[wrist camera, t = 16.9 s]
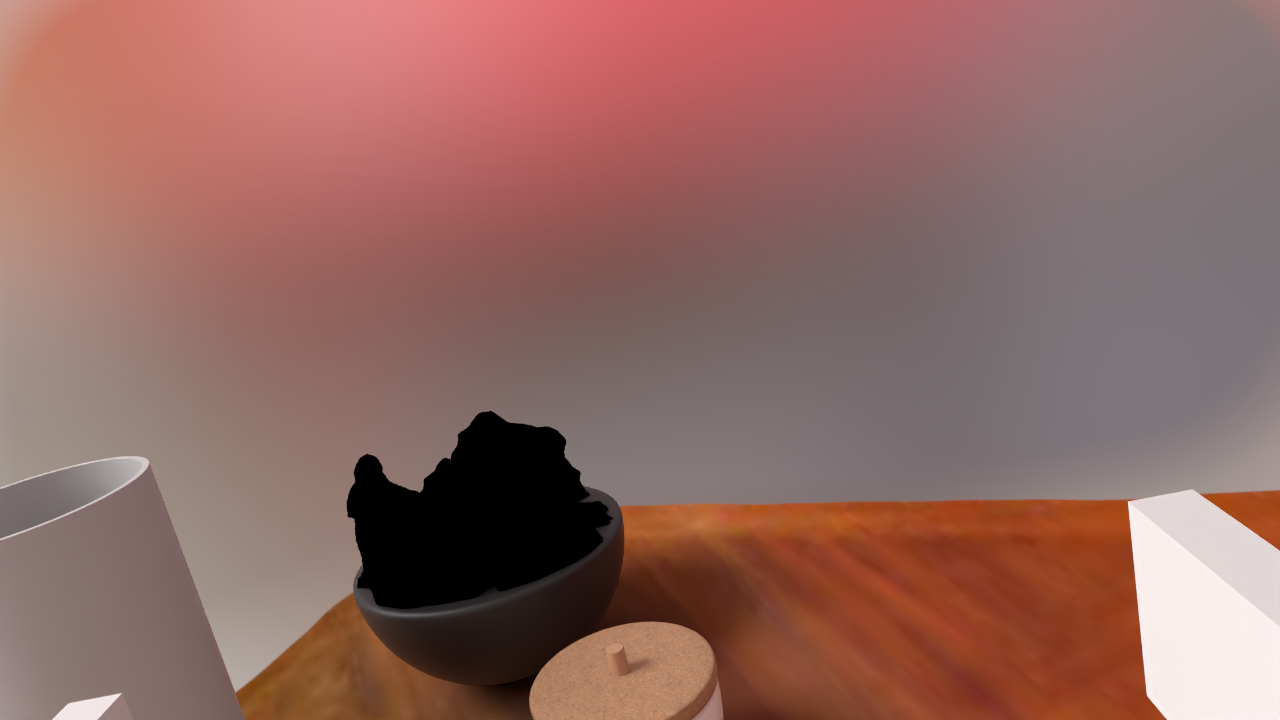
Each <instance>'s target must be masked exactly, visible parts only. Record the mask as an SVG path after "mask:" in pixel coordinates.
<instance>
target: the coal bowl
mask: <svg viewBox="0 0 1280 720" xmlns="http://www.w3.org/2000/svg"><path fill="white" fill-rule="evenodd" d="M565 445H566V439H565V438H564V437H563V436H562V435H561V434H560V433H559V432H558V431H557V430H555V429H553V428H550V427H534V426H531V425H526V424H517V423H509V422H507V421H505V420H504V419H502V418H501V417H499V416H498V415H497V414H495V413H494V412H492V411H489V412H481V413H479V414H478V415H477V416H476V417H475V419H473V421H472V422H471V424H470V426H469V427H468V428H467V429H465V430H464V431H462V432H460V433H459V434H458V444H457V447H456V448H455V450H454V451H453V453H452V455H451V460H450V459H447V458H444V459H442V460H441V461H440V462H439V464H438V465H437V467H436V469H435V471H434V472H433V473H431V474H430V475H429V476H428V477H426V478H425V479H424V487H423V490H422V491H421V492H420V493H419V492H418V491H414V490H413V491H412V490H409V489H407V488H404V487H402V486H398V485H397V484H394V483H392V482H390V481H389V480H388V479H387V478H386V475H384V473H383V472H382V470H383V469H382V465H381V463H380V462H379V460H378V459H377V458H376V457H374V456H373V455H369V454H366V455H364V456H363V457H361V458H360V459H359V461H358V463H357V464H356V467H355V470H354V477H355V483H354V485H353V486H352V488H351V489H350V492H349V495H348V500H347V512H348V517H351V518H354V519H355V521H354V522H355V535H356V542H357V544H358V548H359V551H360V553H361V557H362V563H363V565H362V566H361V567H360V569H359V571H358V573H357V575H356V577H355V580H354V597H355V600H356V603H357V605H358V607H359V609H360V611H361V613H362V615H363V616H364V618H365V620H366V622H367V623H368V625H369V626H370V628H371V629H372V630H373V632H374V633H375V634H376V636H377V637H378V638H379V639H380V640H381V641H382V642H383V643H384V644H385V645H386V647H387V648H389V649H390V650H391V651H392V652H393V653H394V654H395V655H396V656H398V657H399V658H401V659H402V660H403V661H405V662H406V663H408V664H409V665H411V666H412V667H414V668H416V669H418V670H420V671H422V672H424V673H426V674H428V675H431V676H434V677H436V678H439V679H442V680H445V681H450V682H455V683H459V684H466V685H496V684H503V683H508V682H513V681H517V680H520V679H524V678H527V677H529V676H532V675H535V674H537V673H539V672H540V671H541V669H542V668H543V667H544V666H545V665H546V664H547V663H548V662H549V661H550V660H551V659H552V658H553V657H554V656H555V655H556V654H558V653H559V652H560V651H562V650H563V649H565V648H566V647H568V646H569V645H571V644H573V643H574V642H576V641H578V640H580V639H582V638H584V637H586V636H588V635H589V634H590V633H591V632H592V631H593V630H594V628H595V627H596V626H597V624H598V623H599V621H600V620H601V618H602V617H603V615H604V613H605V611H606V610H607V608H608V606H609V604H610V602H611V600H612V597H613V595H614V592H615V589H616V587H617V584H618V581H619V576H620V572H621V568H622V562H623V555H624V525H623V518H622V513H621V509H620V508H619V506H618V504H617V502H616V501H615V500H614V499H613V498H612V497H610V496H609V495H608V494H606V493H604V492H602V491H599V490H597V489H593V488H589V487H584V486H583V485H582V484H581V482H580V475H581V473H580V471H579V470H577V469H575V468H574V467H572V466H571V464H570V463H569V461H568V460H567V459H566V458H565V457H564V456H565V454H564V450H565Z"/></svg>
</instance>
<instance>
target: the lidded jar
mask: <svg viewBox="0 0 1280 720" xmlns="http://www.w3.org/2000/svg"><path fill="white" fill-rule="evenodd" d="M529 705H530V710H531V714H532V717H533V720H723V707H722V699H721V693H720V687H719V682H718V671H717V664H716V659H715V654H714V652H713V650H712V647H711V646H710V644H709V643H708V642H707V641H706V639H704V638H703V637H702V636H701V635H699V634H698V633H697V632H695V631H693V630H691V629H689V628H686V627H683V626H680V625H677V624H671V623H665V622H638V623H629V624H624V625H619V626H615V627H611V628H608V629H604V630H601V631H599V632H596V633H593V634H591V635H589V636H586V637H584V638H582V639H580V640H578V641H576V642H574V643H573V644H571V645H569V646H568V647H566V648H565V649H563V650H562V651H560V652H559V653H558V654H556V655H555V656H554V657H553V658H552V659H551V660H550V661H549V662H548V663H547V664H546V665H545V666H544V667H543V668H542V669H541V671H540V672H539V674H538V675H537V677H536V679H535V681H534V683H533V685H532V688H531V691H530V696H529Z"/></svg>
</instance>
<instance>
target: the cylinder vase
mask: <svg viewBox="0 0 1280 720" xmlns="http://www.w3.org/2000/svg"><path fill="white" fill-rule="evenodd" d="M120 693H122V694H123V696H124V699H125V701H126V704H127V706H128V708H129V711H130V713H131V716H132V718H133V720H245V718H244V715H243V712H242V710H241V707H240V704H239V702H238V699H237V696H236V694H235V691H234V688H233V686H232V683H231V680H230V678H229V675H228V672H227V670H226V667H225V664H224V662H223V659H222V656H221V653H220V651H219V648H218V645H217V643H216V640H215V637H214V635H213V632H212V630H211V627H210V624H209V621H208V619H207V616H206V613H205V611H204V608H203V605H202V603H201V600H200V597H199V595H198V592H197V589H196V587H195V584H194V581H193V578H192V576H191V573H190V570H189V568H188V566H187V563H186V560H185V557H184V555H183V552H182V549H181V546H180V544H179V541H178V538H177V536H176V533H175V531H174V528H173V525H172V522H171V520H170V517H169V514H168V512H167V509H166V506H165V504H164V501H163V498H162V496H161V493H160V490H159V488H158V485H157V482H156V480H155V477H154V474H153V472H152V469H151V466H150V464H149V461H148V460H147V459H145V458H143V457H137V456H126V457H115V458H108V459H103V460H97V461H92V462H87V463H82V464H78V465H74V466H70V467H66V468H63V469H59V470H55V471H52V472H48V473H44V474H41V475H38V476H35V477H31V478H28V479H25V480H22V481H19V482H16V483H13V484H10V485H7V486H4V487H2V488H0V720H52V719H53V718H54V717H55V716H56V715H57V714H58V713H59V712H60V711H61V710H62V709H63V708H64V707H65V706H66V705H67V704H68V703H73V702H78V701H83V700H89V699H94V698H99V697H104V696H110V695H115V694H120Z"/></svg>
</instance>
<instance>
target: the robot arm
mask: <svg viewBox="0 0 1280 720" xmlns="http://www.w3.org/2000/svg"><path fill="white" fill-rule="evenodd" d="M1128 507H1129V517H1130V527H1131V537H1132V548H1133V558H1134V568H1135V578H1136V589H1137V599H1138V609H1139V619H1140V630H1141V640H1142V650H1143V660H1144V671H1145V681H1146V691H1147V696H1148V697H1149V699H1150V700H1151V701H1152V702H1153V703H1154V705H1155V706H1156V707H1157V708H1158V709H1159V711H1160V712H1161V713H1162V714H1163V715H1164V717H1165V718H1166V719H1167V720H1280V551H1279V550H1278V549H1277V548H1275V547H1274V546H1272V545H1271V544H1269V543H1268V542H1267V541H1265V540H1264V539H1262V538H1261V537H1259V536H1258V535H1257V534H1255V533H1254V532H1252V531H1251V530H1249V529H1248V528H1247V527H1245V526H1244V525H1242V524H1241V523H1240V522H1238V521H1237V520H1235V519H1234V518H1232V517H1231V516H1230V515H1228V514H1227V513H1225V512H1224V511H1222V510H1221V509H1220V508H1218V507H1217V506H1215V505H1214V504H1212V503H1211V502H1210V501H1208V500H1207V499H1205V498H1204V497H1202V496H1201V495H1200V494H1198V493H1197V492H1195V491H1194V490H1187V491H1182V492H1176V493H1171V494H1166V495H1160V496H1155V497H1150V498H1145V499H1139V500H1134V501H1129V502H1128ZM52 720H133V718H132V716H131V713H130V711H129V708H128V706H127V704H126V701H125V699H124V696H123V694H122V693H120V694H115V695H110V696H104V697H99V698H94V699H89V700H83V701H78V702H73V703H68V704H67V705H66V706H65V707H64V708H63V709H62V710H61V711H60V712H59V713H58V714H57V715H56V716H55V717H54V718H53V719H52Z"/></svg>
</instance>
